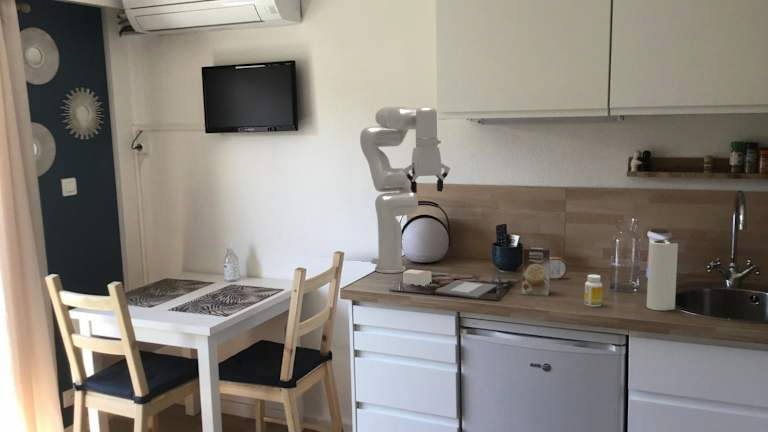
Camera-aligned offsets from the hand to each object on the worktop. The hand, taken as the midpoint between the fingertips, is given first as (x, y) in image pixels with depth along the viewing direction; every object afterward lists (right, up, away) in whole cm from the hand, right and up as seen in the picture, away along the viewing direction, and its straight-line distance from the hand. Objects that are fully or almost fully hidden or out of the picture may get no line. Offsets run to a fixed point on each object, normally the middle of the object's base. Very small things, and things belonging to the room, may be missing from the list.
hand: (427, 192), depth 230 cm
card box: (-3, -34, +12) cm, 36 cm away
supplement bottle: (+52, -38, -20) cm, 68 cm away
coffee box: (+38, -36, -5) cm, 52 cm away
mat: (+14, -35, +1) cm, 38 cm away
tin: (+46, -33, +16) cm, 59 cm away
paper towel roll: (+71, -38, -26) cm, 85 cm away
